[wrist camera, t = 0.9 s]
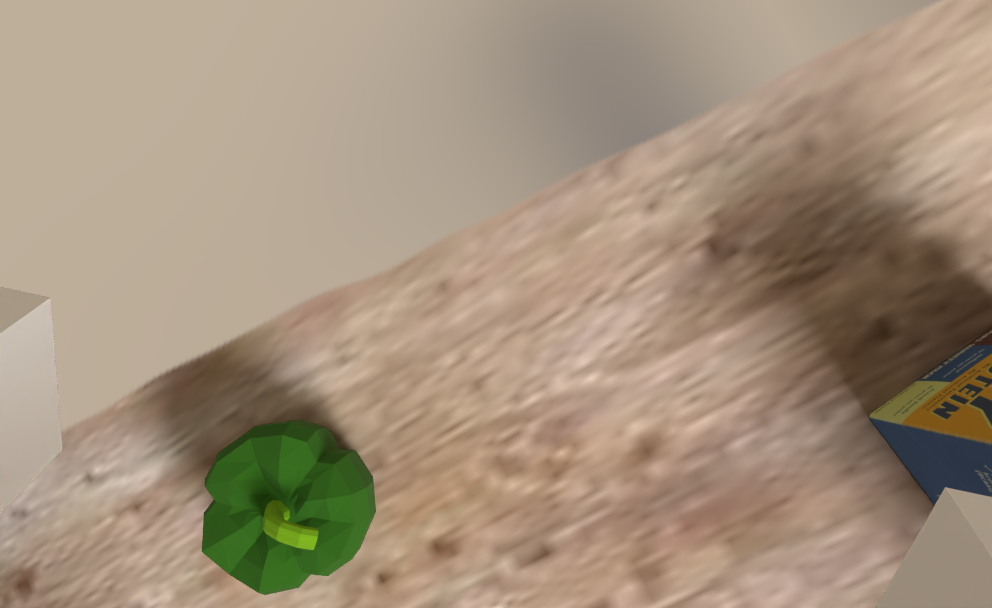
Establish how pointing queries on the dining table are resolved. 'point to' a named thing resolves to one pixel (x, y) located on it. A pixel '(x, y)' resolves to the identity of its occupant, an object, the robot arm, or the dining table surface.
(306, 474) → the bell pepper
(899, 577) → the robot arm
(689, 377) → the dining table surface
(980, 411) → the protein box
